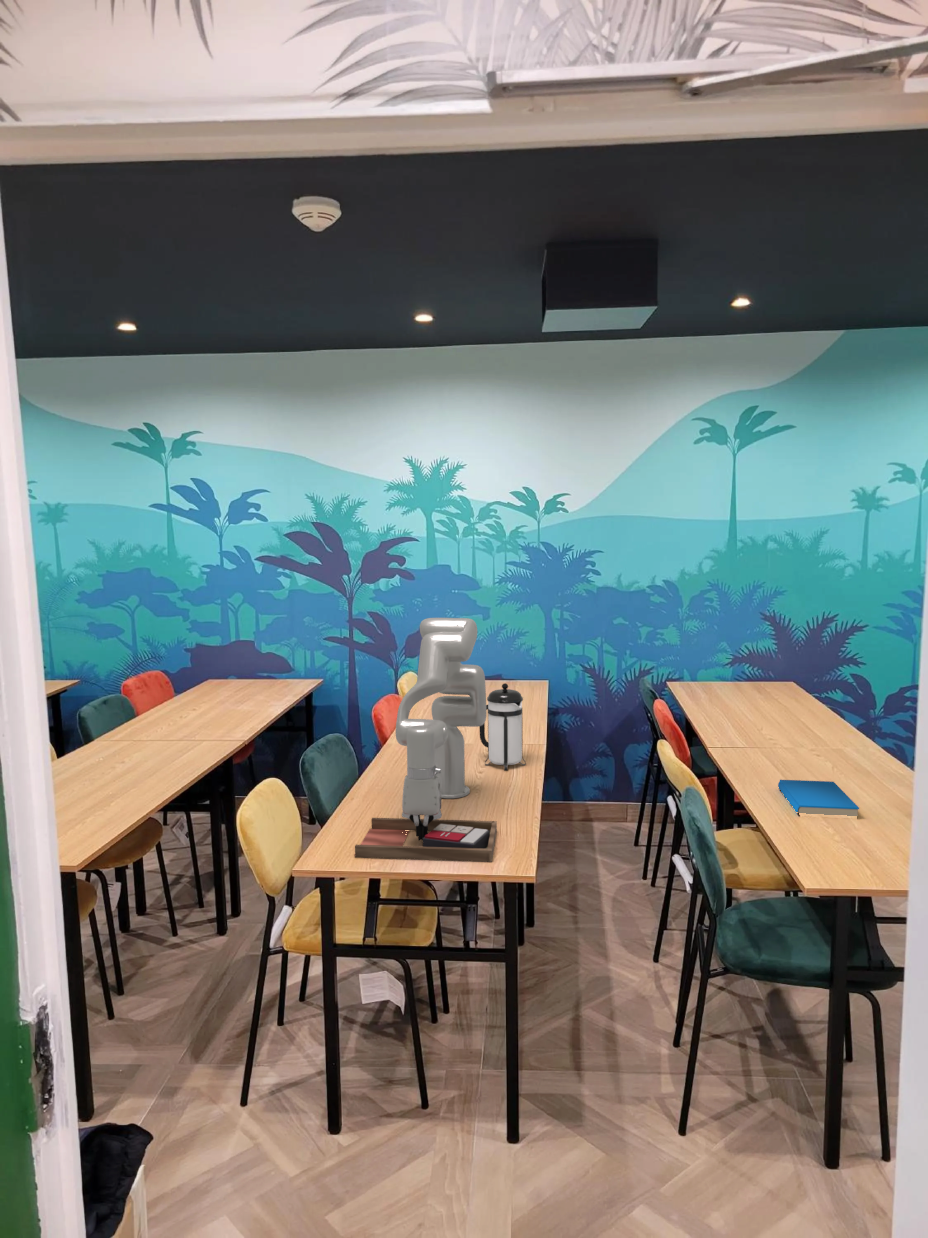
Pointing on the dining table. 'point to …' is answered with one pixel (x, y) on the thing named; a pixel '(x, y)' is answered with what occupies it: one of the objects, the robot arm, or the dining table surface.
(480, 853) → the brown wooden tray
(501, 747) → the coffee press
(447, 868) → the dining table surface
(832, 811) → the book
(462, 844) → the calculator
